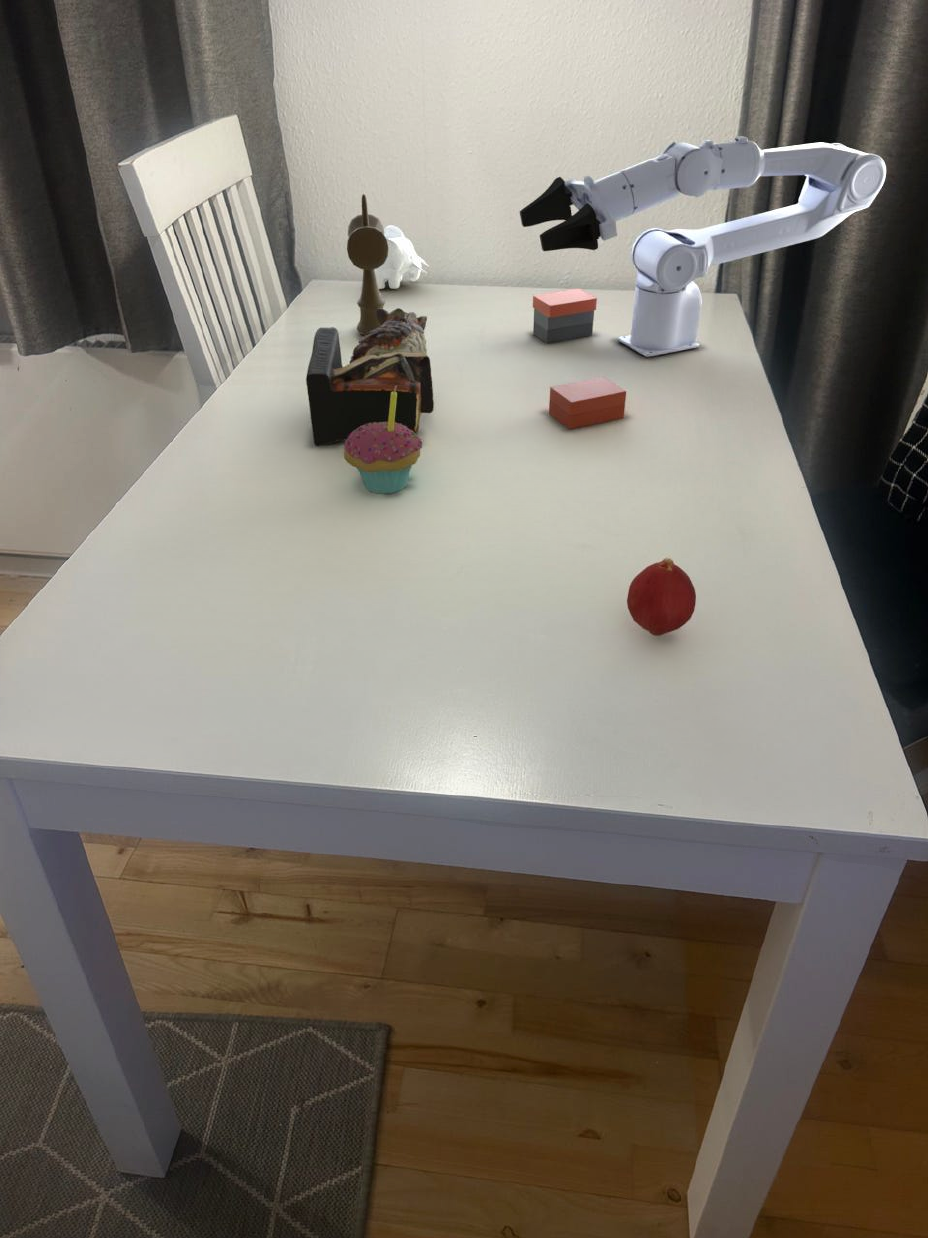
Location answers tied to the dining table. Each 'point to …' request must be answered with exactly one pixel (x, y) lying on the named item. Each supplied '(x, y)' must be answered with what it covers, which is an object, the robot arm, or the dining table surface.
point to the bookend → (370, 377)
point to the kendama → (367, 263)
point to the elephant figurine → (398, 260)
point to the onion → (661, 598)
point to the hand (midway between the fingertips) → (531, 230)
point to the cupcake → (383, 452)
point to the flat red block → (564, 302)
